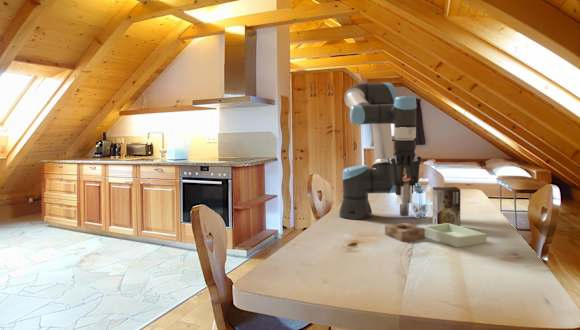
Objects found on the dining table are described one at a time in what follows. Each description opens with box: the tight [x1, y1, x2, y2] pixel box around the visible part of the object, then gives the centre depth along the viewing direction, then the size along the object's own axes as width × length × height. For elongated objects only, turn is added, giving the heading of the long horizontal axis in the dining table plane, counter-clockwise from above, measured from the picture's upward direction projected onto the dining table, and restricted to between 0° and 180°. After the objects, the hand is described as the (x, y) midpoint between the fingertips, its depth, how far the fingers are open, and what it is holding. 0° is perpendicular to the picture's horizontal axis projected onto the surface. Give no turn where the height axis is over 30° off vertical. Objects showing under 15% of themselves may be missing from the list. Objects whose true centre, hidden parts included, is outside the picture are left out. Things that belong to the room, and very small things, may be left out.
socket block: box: [384, 222, 426, 243], centre depth 134 cm, size 10×10×4 cm
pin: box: [399, 176, 411, 217], centre depth 133 cm, size 4×4×14 cm
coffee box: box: [432, 186, 461, 226], centre depth 145 cm, size 9×6×16 cm
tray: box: [420, 223, 487, 248], centre depth 130 cm, size 17×13×3 cm
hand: (404, 203), depth 134 cm, fingers closed on pin, 3 cm apart
